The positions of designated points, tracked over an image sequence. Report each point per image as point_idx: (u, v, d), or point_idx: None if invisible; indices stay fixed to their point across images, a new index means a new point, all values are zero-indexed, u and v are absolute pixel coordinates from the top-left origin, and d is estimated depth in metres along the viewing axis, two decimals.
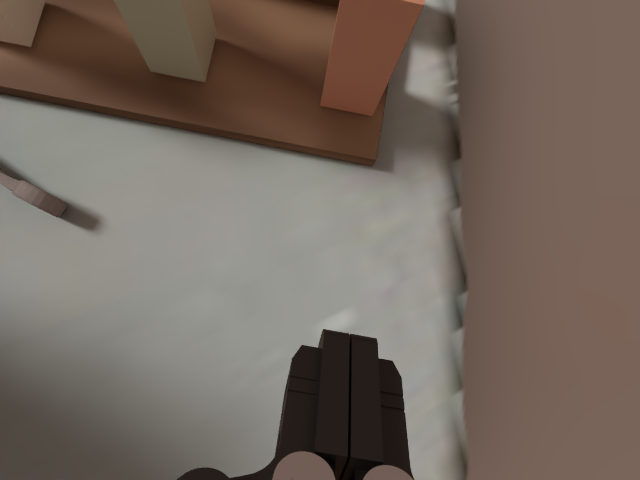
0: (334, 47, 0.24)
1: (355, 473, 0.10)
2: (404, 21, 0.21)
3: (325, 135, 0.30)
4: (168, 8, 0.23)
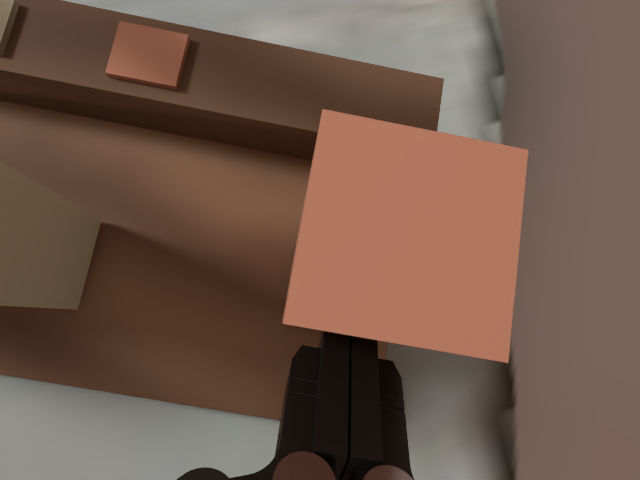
0: None
1: (355, 473, 0.10)
2: None
3: None
4: None
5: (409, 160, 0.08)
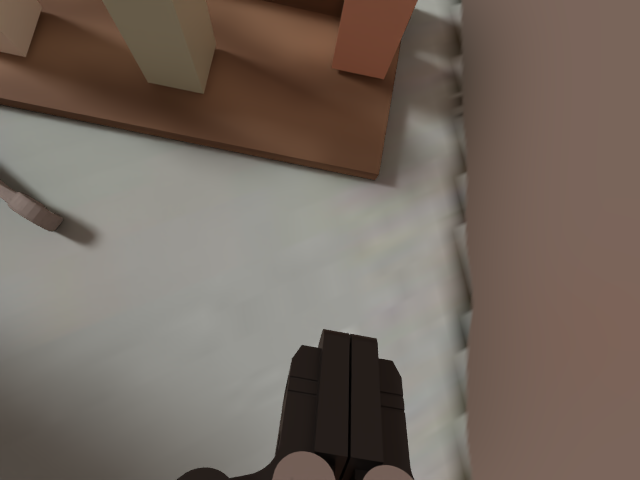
0: None
1: (355, 473, 0.10)
2: None
3: (327, 148, 0.30)
4: (164, 20, 0.22)
5: None
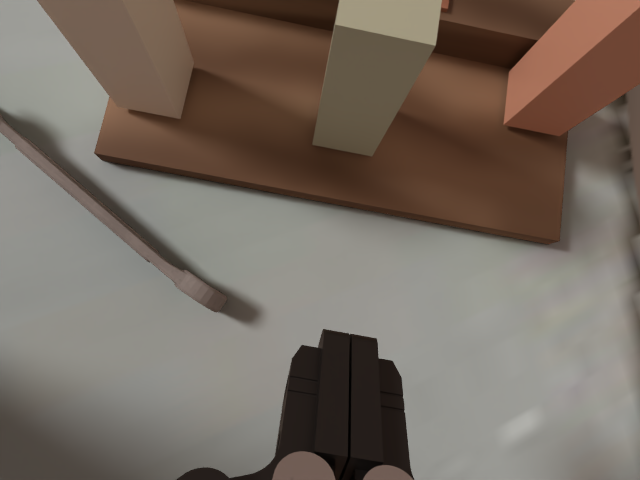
0: (576, 65, 0.21)
1: (355, 473, 0.10)
2: None
3: (503, 213, 0.27)
4: (387, 96, 0.20)
5: None
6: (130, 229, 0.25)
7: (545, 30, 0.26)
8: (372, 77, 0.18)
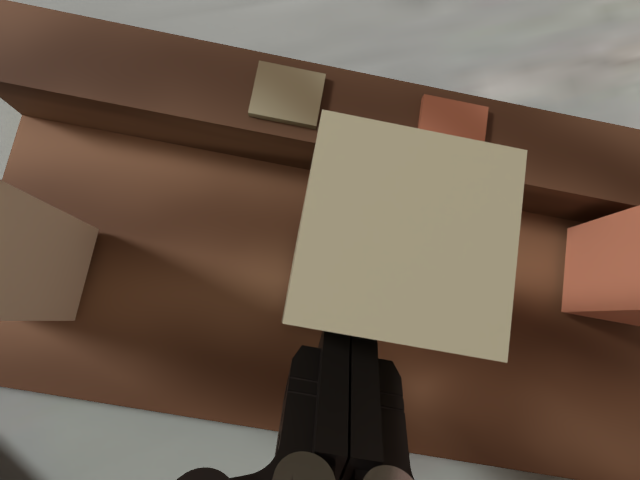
0: None
1: (355, 473, 0.10)
2: None
3: (563, 449, 0.18)
4: None
5: None
6: None
7: (630, 185, 0.17)
8: None
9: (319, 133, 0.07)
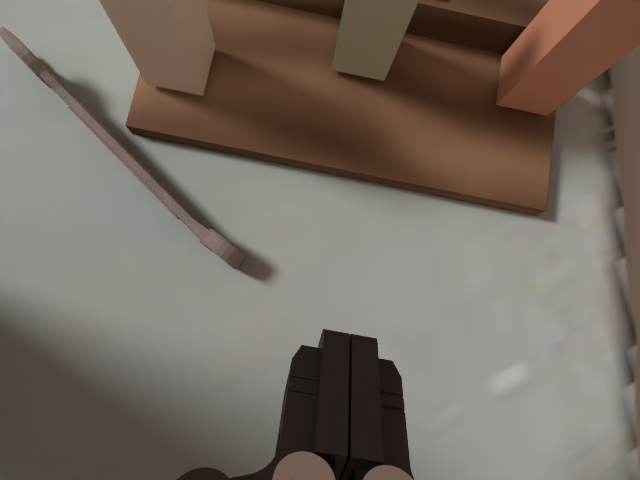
0: (557, 46, 0.24)
1: (355, 473, 0.10)
2: None
3: (494, 184, 0.30)
4: (400, 6, 0.23)
5: None
6: (164, 188, 0.28)
7: None
8: None
9: None
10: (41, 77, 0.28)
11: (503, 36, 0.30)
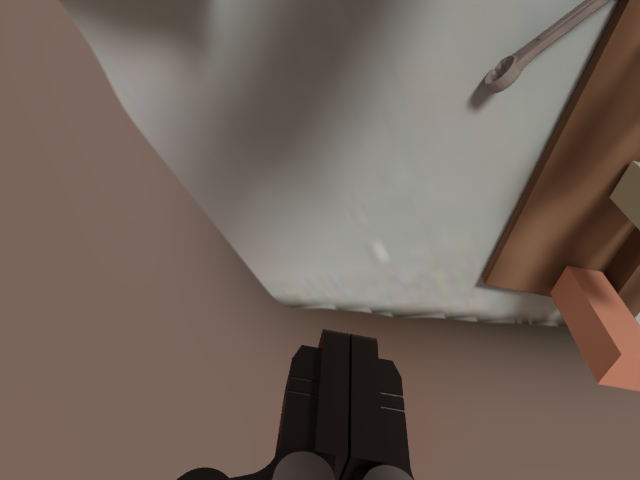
0: (596, 315, 0.39)
1: (355, 473, 0.10)
2: (594, 367, 0.38)
3: (509, 258, 0.44)
4: None
5: None
6: None
7: (623, 297, 0.43)
8: None
9: None
10: None
11: (617, 277, 0.43)
